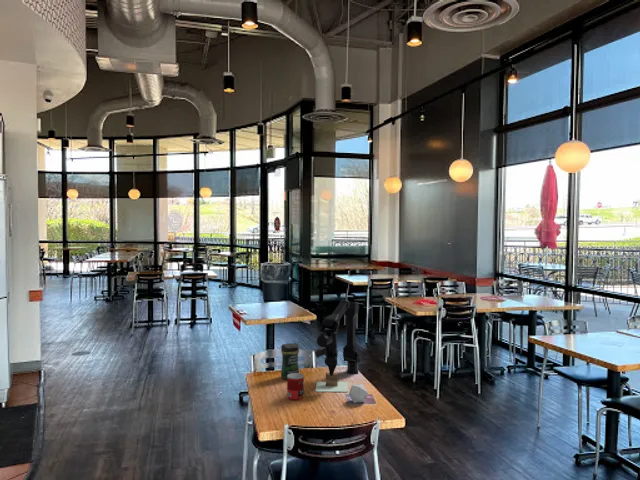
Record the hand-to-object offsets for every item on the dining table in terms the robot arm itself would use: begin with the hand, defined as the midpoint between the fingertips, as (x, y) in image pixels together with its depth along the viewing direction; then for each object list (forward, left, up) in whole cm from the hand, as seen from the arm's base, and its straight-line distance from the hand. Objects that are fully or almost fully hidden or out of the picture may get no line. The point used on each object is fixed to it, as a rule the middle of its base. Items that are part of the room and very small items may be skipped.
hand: (331, 372), depth 241 cm
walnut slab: (0, 0, -7) cm, 7 cm away
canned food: (+16, -17, -7) cm, 25 cm away
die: (+20, +13, -7) cm, 25 cm away
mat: (+1, 0, -7) cm, 7 cm away
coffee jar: (-14, -23, -7) cm, 28 cm away
